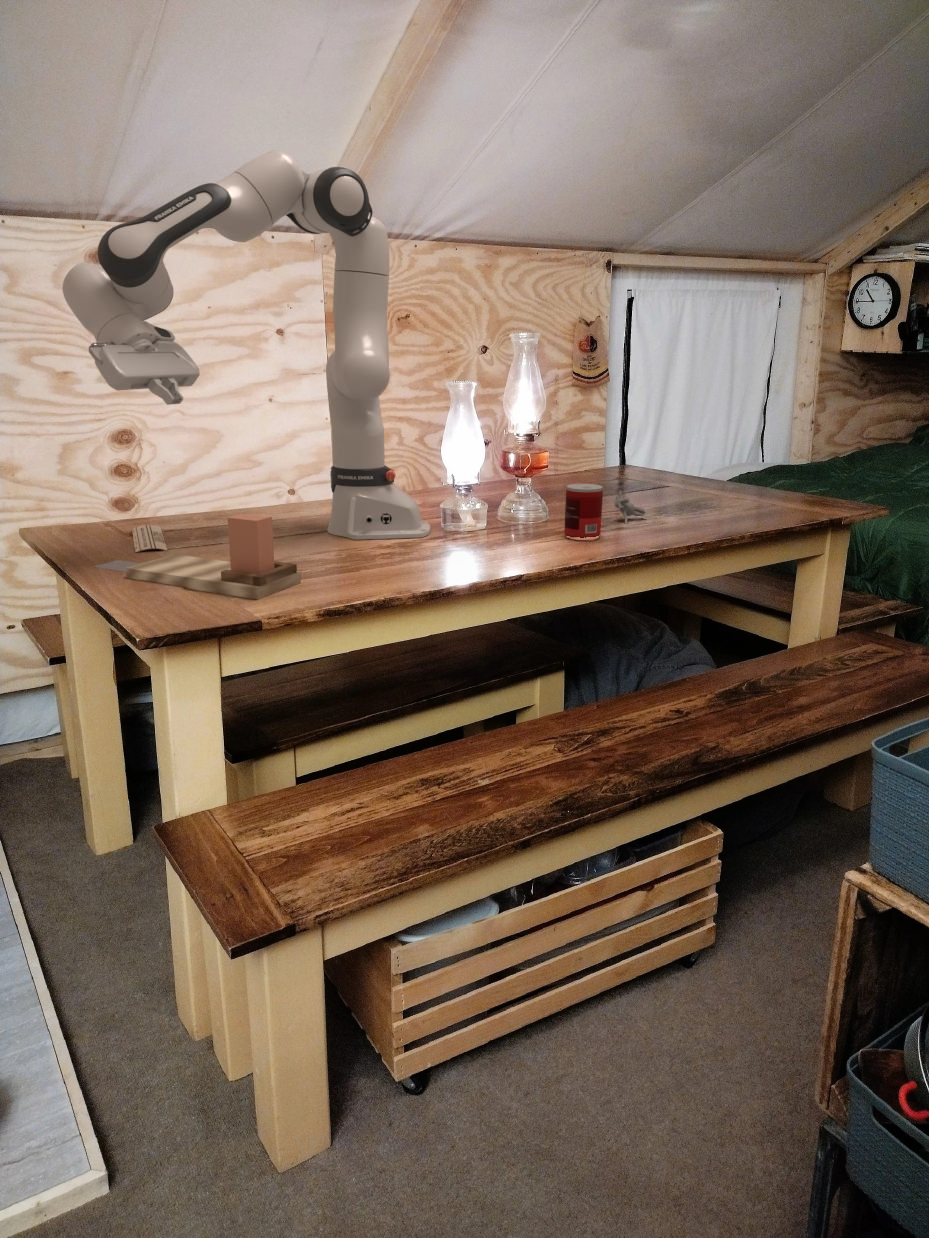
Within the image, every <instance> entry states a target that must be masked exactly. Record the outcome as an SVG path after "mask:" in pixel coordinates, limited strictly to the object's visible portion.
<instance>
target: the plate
mask: <svg viewBox="0 0 929 1238" xmlns="http://www.w3.org/2000/svg"><path fill="white" fill-rule="evenodd" d="M142 563H143V562H142ZM142 563H141V562H136V561H135V562H134V561H127V560H120V559H116V560H113V561H109V562H106V563H102V564H99V565H95V566H93V568H97V569H104V570H111V571H118V572H124V573H126V568H128V567H131V566H135V565H138V564H142Z"/></svg>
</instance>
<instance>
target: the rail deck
mask: <svg viewBox="0 0 929 1238" xmlns="http://www.w3.org/2000/svg"><path fill="white" fill-rule="evenodd" d="M274 567H275V569H272V570H269V571H266V572H263V573H260V574H254V573H247V572H240V571H233V570H231V564H230V561H226V560H221V559H219V560H218V559H212V558H207V557H206V558H204V557H197V556H191V555H181V554H175V553H173V554H171V555H166V556H163V557H159V558H157V559H152V560H149V561H145V562H142V564H138V565H135V566H131V567H128V568H126V572H125V574H126V578H127V579H133V580H138V581H143V582H144V581H146V582H152V583H158V584H165V585H171V586H177V587H182V589H187V590H195V591H200V592H206V593H214V594H220V595H225V596H226V595H227V596H233V597H237V598H238V597H239V598H245V599H251V600H261V599H263V598H265V597H269V596H271V595H273V594H276V593H278V592H281V591H283V590H286V589H288V588H291V587H293V586H296V585H299V584H301V583H302V581H301V580H302V579H301V571H300V570H299V571H298V567H297V563H291V562H290V563H288V562H283V561H275V560H274Z"/></svg>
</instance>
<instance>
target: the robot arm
mask: <svg viewBox="0 0 929 1238" xmlns="http://www.w3.org/2000/svg"><path fill="white" fill-rule="evenodd" d="M285 216H286V217H287V218H288V219H290V220H291V222H292V223H294V225H295V226H297V227H298V228H299V229H300V230H302V231H304V232H306V233H308V234H312V235H319V234H320V235H321V234H329V236H330V238H331V240H332V242H333V246H334V247H333V248H334V252H335V258H334V259H335V260H334V272H333V274H334V275H333V276H334V277H333V295H332V296H333V298H332V317H333V328H334V351H333V352H332V353H331V354H330V355H329V357H328V359H327V362H326V366H325V375H326V376H325V377H326V378H325V379H326V389H327V401H328V410H329V418H330V424H331V425H330V426H331V448H332V449H331V452H332V465H331V467H330V489H331V493H332V499H331V501H332V502H331V511H330V517H329V522H328V527H327V528H326V529H327V530H326V532H327V533H329V534H331V535H335V536H340V537H345V538H347V539H351V540H357V541H358V540H374V539H375V540H380V539H381V540H382V539H408V538H409V539H412V538H413V539H414V538H423V537H427V536H428V535H430V534H431V531H432V529H431V525H430V523H429V522H426V521H423V520H422V517H421V511H420V507H419V504H418V503H417V501H416V500H415V499H414V498H413V497H411V495H409V494H408V493H406V492H405V491H404V490H403V489H402V488H400V487H399V486H397V484H395V479H396V472H395V470H394V469H393V468H392V467H391V468H390V467H388V466H387V465H386V464H385V426H384V423H383V419H382V412H381V405H380V396H381V395H382V394H383V393H384V392H385V390H386V389H387V387H388V384H389V382H390V376H391V374H390V373H391V372H390V361H389V360H390V354H389V352H390V350H389V332H388V305H389V304H388V303H389V302H388V301H389V299H388V298H389V285H390V284H389V283H390V282H389V281H390V248H389V237H388V229H387V228H386V226H385V224H384V223H383V222H382V221H381V220H379V219H378V218H377V217H375V216H373V207H372V206H371V203H370V197H369V192H368V189H367V185H366V184H365V183H364V181H363V179H362V178H361V176H360V175H359V174H358V173H356V172H355V171H353V170H351V169H349V168H347V167H341V166H331V167H329V168H323V169H319V170H316V171H313V172H312V173H311V172H310V173H307V172H305V171H303V169H301V167H300V165H299V164H298V162H297V161H296V160H295V159H294V158H293V157H292V156H291V155H290V154H288V153H287V152H285V151H283V150H279V149H278V150H277V149H274V150H270V151H267V152H265V153H263V154H261V155H259V156H257V157H255V158H252V160H249V161H248V162H246V163H245V164H243V165H241V166H240V167H239V168H237V169H236V170H234V171H233V172H232V173H230V174H228V175H227V176H226V177H224V178H223V179H221V180H219V181H217V182H215V183H214V182H210V183H204V184H201V185H198V186H196V187H194V188H192V189H190V190H188V191H186V192H184V193H181V195H179V196H177V197H176V198H173V199H172V200H170V201H168V202H166V203H165V204H163V205H161V206H160V207H158V208H156V209H155V210H153V211H151V212H149V213H147V214H146V215H143V216H142V217H139V218H137V219H134V220H133V219H132V220H129V221H126V222H122V223H120V224H116V225H114V226H113V227H112V228H110V229H108V230H107V231H106V232H105V233H104V234H103V236H102V237H101V239H100V240H99V243H98V245H97V259H98V261H99V264H95V263H90V262H85V261H83V262H80V263H77V264H76V265H74V266H72V268H71V269H70V270H69V271H68V272H67V273H66V275H65V277H64V278H63V282H62V294H63V298H64V299H65V302H66V304H67V305H68V307H69V308H70V310H71V311H72V314H73V315H75V317H76V319H77V320H78V321H79V322H80V324H81V325H82V326H83V327H84V329H86V331H88V332H89V333H91V334H92V335H93V337H94V339H95V341H96V342H92V343H91V344H90V345H89V346H88V353H89V355H90V356H91V357H92V358H93V359H94V364H95V366H96V369H97V371H99V373H100V375H101V376H102V378H103V379H104V380H105V383H107V385H108V386H109V387H110V388H112V389H113V390H115V391H132V390H149V392H151V393H152V394H154V396H156V397H158V398H161V399H162V401H163V402H164V403H165V404H166V405H170V406H171V405H180V404H181V403H182V402H183V401H184V396H183V394H182V393H181V392H180V391H179V390H180V389H179V388H183V387H192V386H193V385H194V384H195V382H196V381H197V379H198V378H199V377H200V369H199V366H198V364H197V363H196V362H195V361H194V359H193V358H192V357H191V356H190V355H189V353H188V352H187V350H186V349H185V348H183V346H181V345H180V344H179V343H178V342H175V340H176V336H175V335H174V333H173V332H172V331H170V330H169V329H166V328H162V327H159V326H157V325H153V324H152V323H150V322H148V321H146V320H148V319H151V318H153V317H154V316H157V315H159V314H161V313H162V312H163V311H166V309H167V308H168V307H169V306H170V305H171V303H172V301H173V297H174V286H173V283H172V281H171V277H170V275H169V273H168V270H167V268H166V266H165V265H166V264H165V263H164V258H165V256H166V253H167V252H168V251H169V249H171V248H172V247H174V246H176V245H178V244H179V243H180V242H183V241H185V240H186V239H188V238H189V237H191V236H192V235H194V234H196V233H197V232H199V231H201V230H203V229H214V230H215V231H216V232H217V233H219V235H221V236H222V237H224V238H225V239H227V240H229V241H233V242H238V243H246V242H249V241H251V240H253V239H256V238H257V237H259V236H261V235H262V234H263V233H264V232H266V231H267V230H268V229H270V228H271V227H272V226H273V225H274V224H276V223H277V222H278V221H280V220H281V219H282V218H283V217H285Z"/></svg>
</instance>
